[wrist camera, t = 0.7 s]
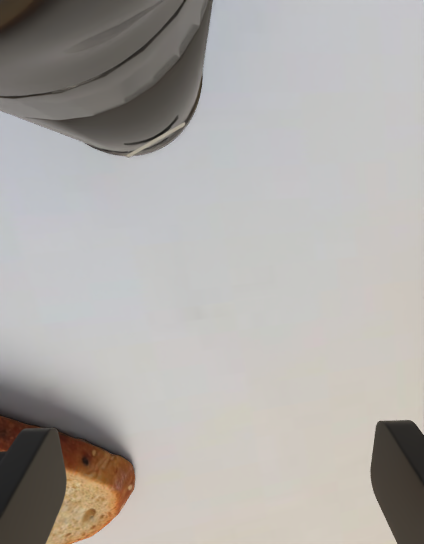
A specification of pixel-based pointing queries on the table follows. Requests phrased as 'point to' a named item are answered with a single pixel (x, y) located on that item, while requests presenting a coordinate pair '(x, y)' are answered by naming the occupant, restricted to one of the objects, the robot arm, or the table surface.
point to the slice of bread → (82, 484)
